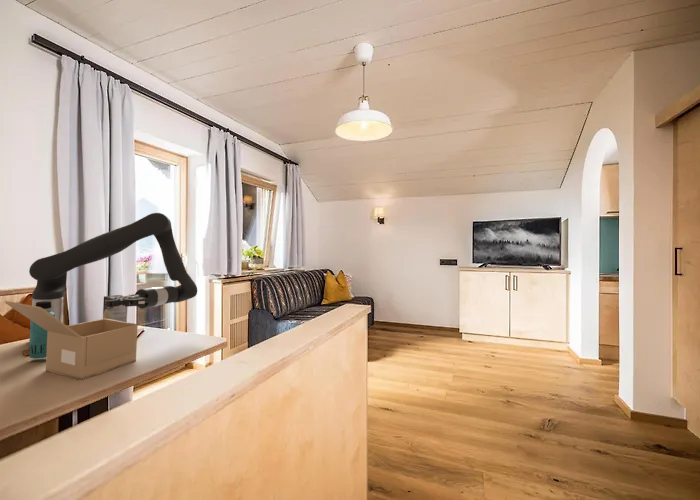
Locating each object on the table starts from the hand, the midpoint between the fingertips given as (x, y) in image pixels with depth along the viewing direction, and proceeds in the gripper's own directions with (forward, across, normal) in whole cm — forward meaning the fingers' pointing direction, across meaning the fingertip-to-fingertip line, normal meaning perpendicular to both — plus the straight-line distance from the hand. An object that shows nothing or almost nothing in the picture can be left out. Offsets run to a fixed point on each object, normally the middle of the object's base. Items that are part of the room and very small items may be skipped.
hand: (107, 304), depth 116 cm
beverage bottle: (+8, -19, +20) cm, 29 cm away
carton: (+4, 0, +20) cm, 20 cm away
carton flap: (+18, 0, +1) cm, 18 cm away
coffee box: (-25, -29, +20) cm, 43 cm away
